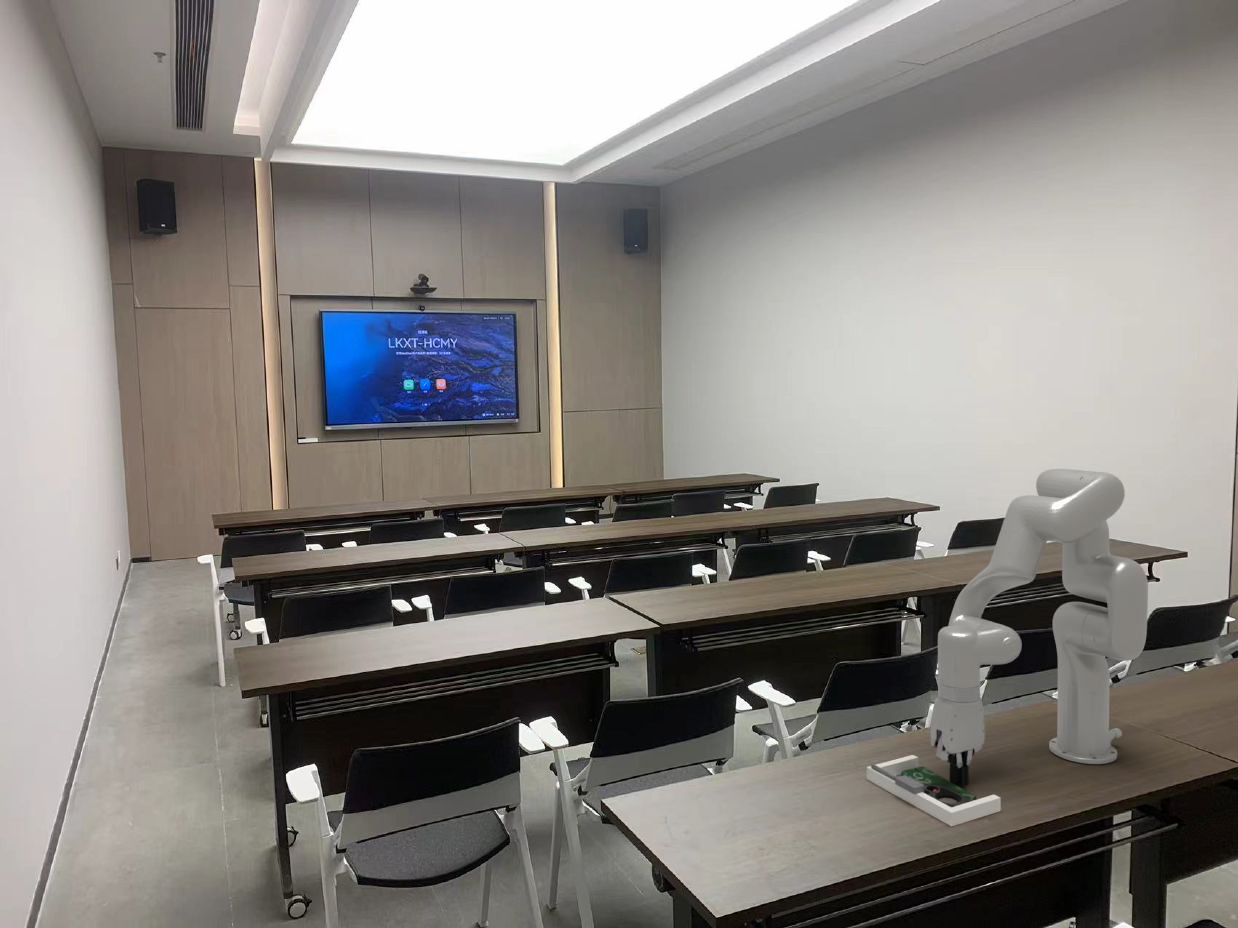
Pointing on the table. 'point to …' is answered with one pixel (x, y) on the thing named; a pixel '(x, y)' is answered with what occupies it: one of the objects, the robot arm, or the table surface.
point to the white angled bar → (914, 794)
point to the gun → (939, 786)
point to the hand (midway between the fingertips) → (959, 783)
